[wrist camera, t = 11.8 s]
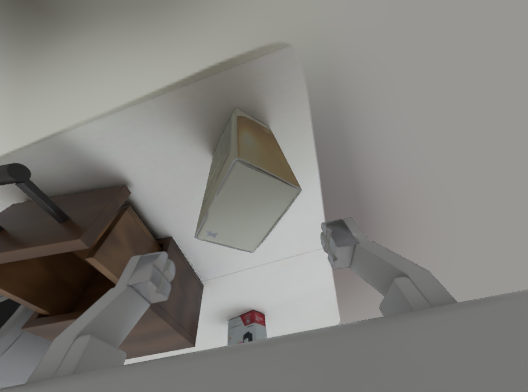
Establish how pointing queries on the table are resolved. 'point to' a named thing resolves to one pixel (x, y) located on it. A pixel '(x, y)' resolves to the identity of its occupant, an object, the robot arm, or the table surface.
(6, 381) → the alarm clock
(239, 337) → the ink box
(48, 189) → the table surface
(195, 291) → the cabinet
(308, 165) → the table surface
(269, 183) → the cosmetic box
